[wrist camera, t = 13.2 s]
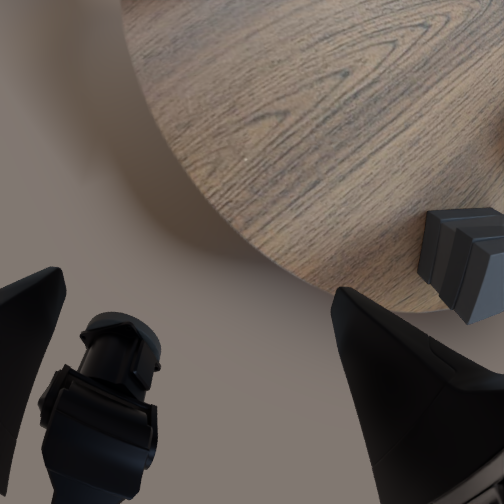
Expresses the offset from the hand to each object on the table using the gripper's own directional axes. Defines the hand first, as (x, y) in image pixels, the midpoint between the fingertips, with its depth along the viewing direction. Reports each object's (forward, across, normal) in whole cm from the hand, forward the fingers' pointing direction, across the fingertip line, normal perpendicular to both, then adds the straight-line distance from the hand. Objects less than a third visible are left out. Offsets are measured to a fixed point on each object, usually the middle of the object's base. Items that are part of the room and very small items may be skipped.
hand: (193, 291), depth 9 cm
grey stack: (+12, -22, +2) cm, 25 cm away
